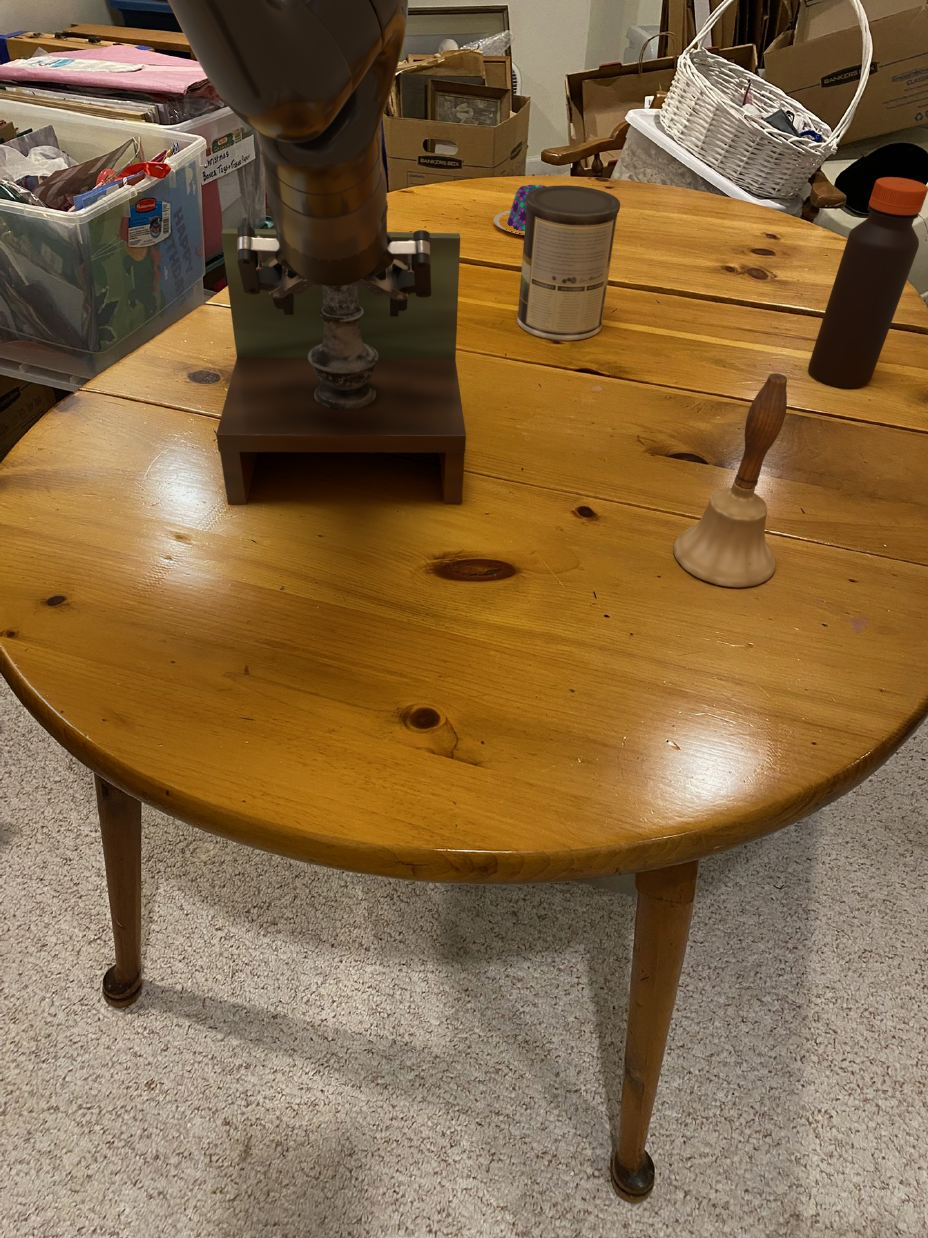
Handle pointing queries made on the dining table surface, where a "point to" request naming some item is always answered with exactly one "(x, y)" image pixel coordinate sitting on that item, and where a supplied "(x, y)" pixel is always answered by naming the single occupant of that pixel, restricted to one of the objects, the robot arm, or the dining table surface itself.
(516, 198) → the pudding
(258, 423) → the shelf
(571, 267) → the coffee can
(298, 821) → the dining table surface
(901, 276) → the bottle
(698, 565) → the hand bell
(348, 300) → the grey turned spindle
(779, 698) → the dining table surface
